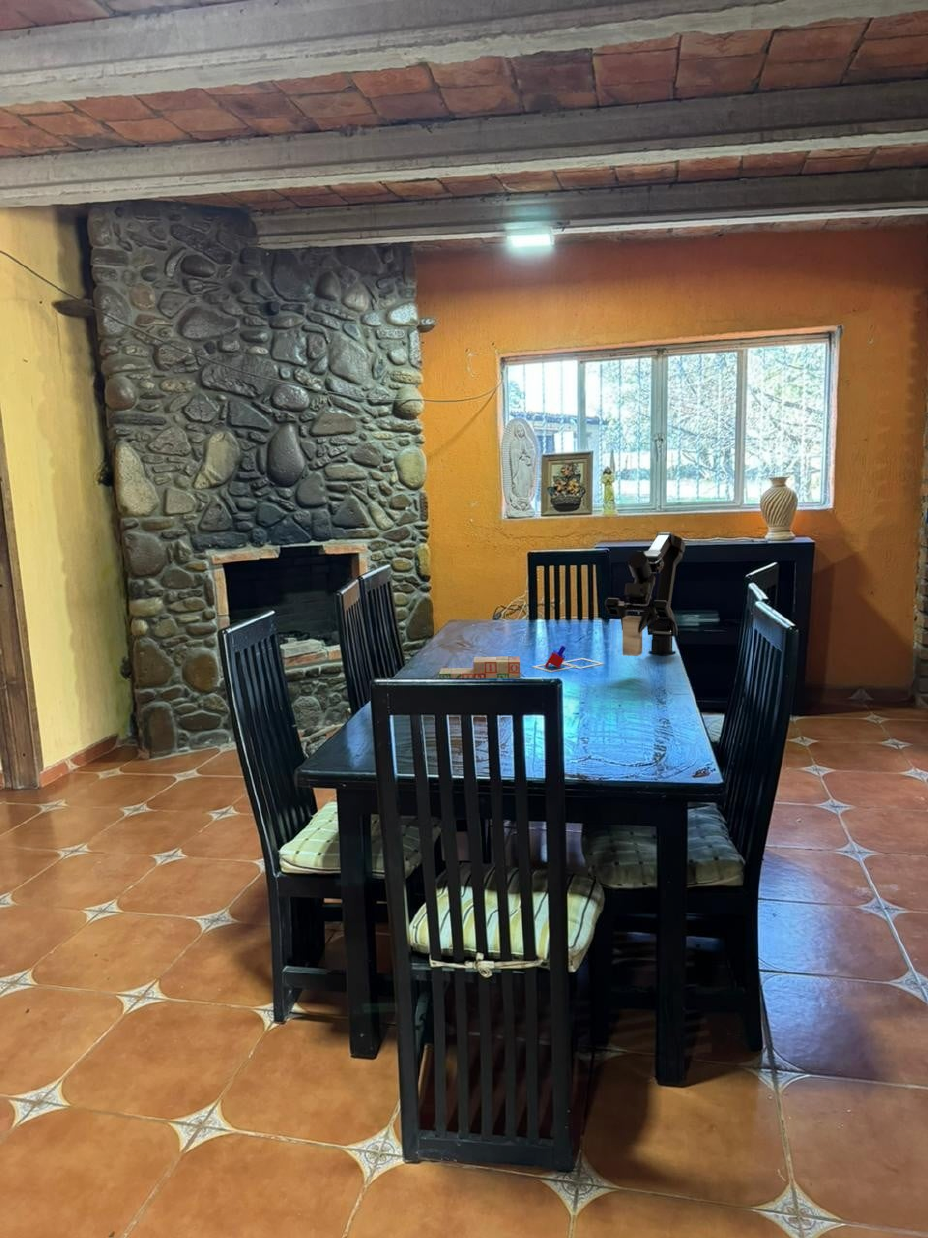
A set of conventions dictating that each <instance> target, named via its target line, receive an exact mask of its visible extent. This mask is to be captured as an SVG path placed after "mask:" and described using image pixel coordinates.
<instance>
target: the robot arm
mask: <svg viewBox="0 0 928 1238" xmlns="http://www.w3.org/2000/svg"><path fill="white" fill-rule="evenodd" d="M685 550H686V543H685V541H684V540H683V538H682V537H680V536H677V535H675V534H674V532H669V531H668V532H667V531H665V532H664V531H659V532H658V533H657V534H656V536H655V539H654V540H653V542H652V544H651V546H650V547H649V549H648V550H637V551H636V553H634V554H632V555H631V556H630V557H629V558H628V560H627V563H628V567H629V569H630V573H631V574H632V577H633V578H634V583H632V582H631V583H630V582H626V583H625V586H624V587H625V589H624V595H625V596H626V598H625V599H626V601H627V602H625V601H621V600H620V599H621V598H619V597H618V598H617V597H607V598H606V599H605V601H604V607H605V608H606V611H607V614H608V615H609V616H618V618H620V621H621V623H620V624H621V631H622V632H623V618H624V617H626V616H629V614H628V612H643V613H642V616H641V617H642V619H641V622H640V625H639V629H638V632H639V633H640V632H641V631H642V632H643V631H644V630H645V628H646V630H647V636H651V637H652V638H651V644H650V645H651V647H650V649H651V650H648V653H649V654H654V655H659V656H667V655H671V654H676V652H677V651H676V650H673V637H677V636H678V626H677V623H676V620H675V615H674V613H673V609H672V608H671V604H672V596H673V590H674V589H673V588H674V582H675V575H676V567H677V565H678V564H679V563H680V562H681V561H682V559H683V556H684V555H683V554H684V553H685ZM659 573H660V574H659ZM655 574H659V580H658V581H659V582H658V588H657V595H656V599H655V600H653V602H652V604H649V603H650V601H651V600H652V598H653V597H652V593H653V589H654V586H656V576H655Z"/></svg>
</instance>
